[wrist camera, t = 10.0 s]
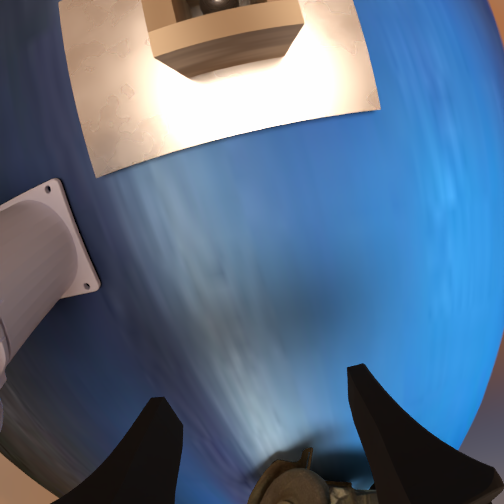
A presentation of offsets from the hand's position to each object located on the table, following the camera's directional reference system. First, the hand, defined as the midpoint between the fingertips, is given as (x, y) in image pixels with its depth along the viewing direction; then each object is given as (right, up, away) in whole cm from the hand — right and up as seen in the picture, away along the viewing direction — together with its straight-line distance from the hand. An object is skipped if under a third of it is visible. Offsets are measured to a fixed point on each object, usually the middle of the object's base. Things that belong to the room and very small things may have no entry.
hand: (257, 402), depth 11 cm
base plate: (-3, +17, +3) cm, 18 cm away
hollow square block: (-2, +17, +2) cm, 17 cm away
